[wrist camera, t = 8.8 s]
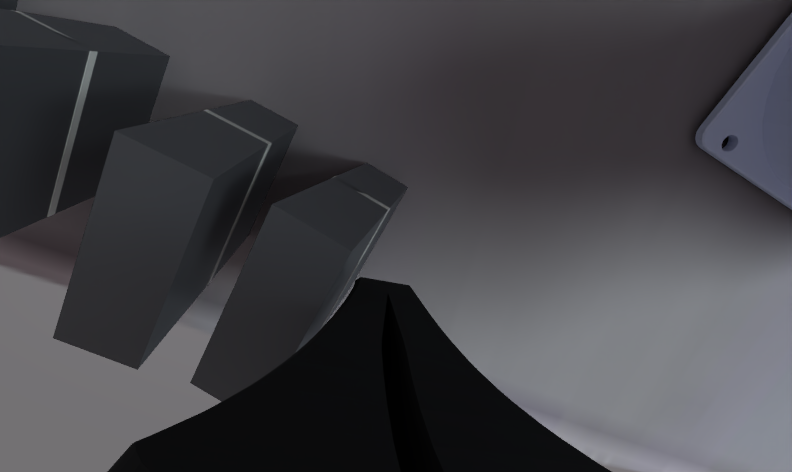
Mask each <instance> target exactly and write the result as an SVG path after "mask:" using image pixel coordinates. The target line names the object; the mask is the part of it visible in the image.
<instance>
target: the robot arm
mask: <svg viewBox="0 0 792 472" xmlns="http://www.w3.org/2000/svg"><path fill="white" fill-rule="evenodd" d="M727 136H728V137H729V138H728V143H727V145H726V146H725V147H724V148H722V142H723V140H724V139H725V138H726V137H727ZM695 140H696V144H697V145H698V146H699V148H701V149H702V150H704V151H705V152H707V153H708V154H710V155H711V156H713V157H714V158H716V159H717V160H719V161H720V162H722V163H723V164H725V165H726V166H727V167H729V168H730V169H732V170H733V171H735V172H736V173H738V174H739V175H741V176H742V177H744V178H745V179H747V180H748V181H750V182H751V183H753V184H754V185H756V186H757V187H759V188H760V189H762V190H763V191H764V192H766V193H767V194H769V195H770V196H772V197H773V198H775V199H776V200H778V201H779V202H781V203H782V204H784V205H785V206H787V207H788V208H790V209H791V210H792V13H791V14H790V15H789V16H788V18H787V19H786V20H785V21H784V23H783V24H782V25H781V26H780V28H779V29H778V30H777V31H776V32H775V34H774V35H773V36H772V37H771V39H770V40H769V41H768V42H767V44H766V45H765V46H764V47H763V49H762V50H761V51H760V52H759V54H758V55H757V56H756V57H755V59H754V60H753V61H752V62H751V64H750V65H749V66H748V67H747V68H746V70H745V71H744V72H743V73H742V75H741V76H740V77H739V78H738V80H737V81H736V82H735V83H734V85H733V86H732V87H731V88H730V90H729V91H728V92H727V93H726V95H725V96H724V97H723V98H722V100H721V101H720V102H719V103H718V105H717V106H716V107H715V108H714V109H713V111H712V112H711V113H710V114H709V116H708V117H707V118H706V119H705V121H704V122H703V123H702V124H701V126H700V127H699V129H698V130H697V132H696V137H695ZM108 472H611V471H610V470H608V469H606V468H605V467H603V466H601V465H600V464H598V463H597V462H595V461H594V460H592V459H591V458H589V457H588V456H586V455H585V454H583V453H582V452H580V451H579V450H577V449H576V448H574V447H573V446H571V445H570V444H568V443H567V442H565V441H564V440H562V439H561V438H560V437H558V436H557V435H555V434H554V433H553V432H551V431H550V430H548V429H547V428H546V427H544V426H543V425H542V424H540V423H539V422H538V421H536V420H535V419H534V418H533V417H531V416H530V415H529V414H527V413H526V412H525V411H524V410H522V409H521V408H520V407H519V406H517V405H516V404H515V403H514V402H512V401H511V400H510V399H509V398H508V397H506V396H505V395H504V394H503V393H502V392H501V391H500V390H498V389H497V388H496V387H495V386H494V385H493V384H492V383H491V382H490V381H489V380H488V379H487V378H486V377H485V376H483V375H482V374H481V373H480V372H479V371H478V370H477V369H476V368H475V367H474V366H473V365H472V364H471V363H470V362H469V361H468V360H467V359H466V357H465V356H464V355H463V354H462V353H461V352H460V351H459V350H458V348H457V347H456V346H455V345H454V344H453V343H452V342H451V340H450V339H449V338H448V337H447V336H446V334H445V333H444V332H443V331H442V330H441V328H440V327H439V326H438V324H437V323H436V322H435V320H434V319H433V318H432V316H431V315H430V314H429V312H428V311H427V310H426V308H425V307H424V305H423V304H422V303H421V301H420V300H419V298H418V297H417V295H416V294H415V293H414V291H413V290H412V288H411V287H410V286H409V285H403V284H398V283H392V282H386V281H380V280H375V279H369V278H363V277H360V278H359V279H357V280H355V284H354V287H353V289H352V291H351V292H350V294H349V295H348V297H347V298H346V300H345V301H344V303H343V304H342V305H341V307H340V308H339V309H338V310H337V312H336V313H335V314H334V315H333V317H332V318H331V319H330V320H329V321H328V322H327V323H326V324H325V325H324V326H323V327H322V328H321V329H320V331H319V332H318V333H317V334H316V335H315V336H314V337H313V338H312V339H310V340H309V341H308V342H307V343H306V344H305V345H304V346H303V347H302V348H301V349H299V350H298V351H297V352H296V353H295V354H293V355H292V356H291V357H290V358H288V359H287V360H286V361H284V362H283V363H282V364H280V365H279V366H278V367H276V368H275V369H274V370H272V371H271V372H269V373H268V374H267V375H265V376H264V377H262V378H261V379H259V380H258V381H256V382H255V383H253V384H252V385H250V386H248V387H247V388H245V389H243V390H241V391H240V392H238V393H236V394H234V395H233V396H231V397H229V398H227V399H226V400H224V401H222V402H221V403H219V404H217V405H215V406H214V407H212V408H210V409H208V410H206V411H204V412H202V413H200V414H198V415H196V416H193V417H191V418H189V419H187V420H184V421H182V422H180V423H178V424H176V425H173V426H171V427H169V428H167V429H164V430H162V431H160V432H158V433H156V434H153V435H151V436H149V437H146V438H144V439H141V440H139V441H136V442H134V443H133V444H132V445H131V446H130V447H129V448H128V449H127V450H126V451H125V453H124V454H123V455H122V456H121V457H120V458H119V459H118V460H117V462H116V463H115V464H114V465H113V466H112V467H111V468H110V470H109V471H108Z"/></svg>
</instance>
